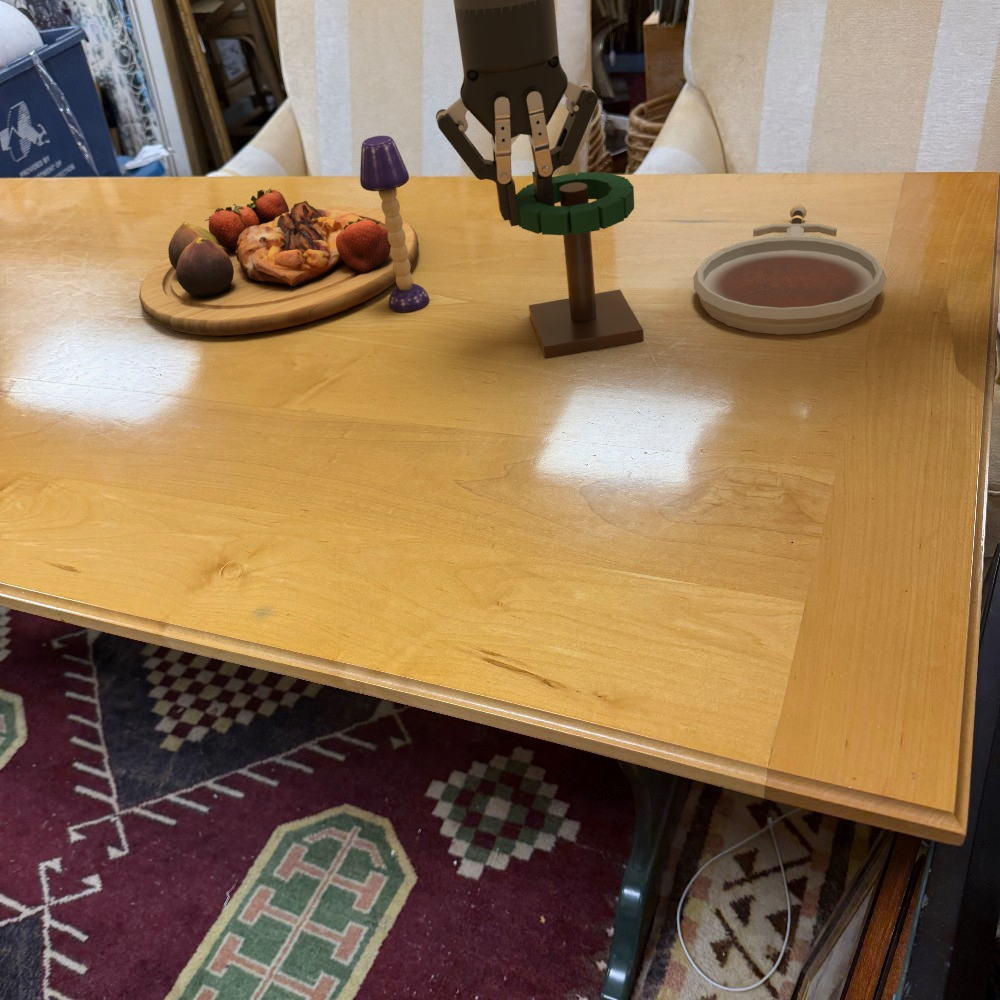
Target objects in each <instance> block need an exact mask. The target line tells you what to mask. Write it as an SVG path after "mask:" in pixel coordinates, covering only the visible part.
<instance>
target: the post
mask: <svg viewBox="0 0 1000 1000" xmlns="http://www.w3.org/2000/svg"><path fill="white" fill-rule="evenodd" d="M559 192H560V202H559V203H560V206H574V205H580V204H585V203H590V201H589V200H590V199H588V186H587V185H586V184H585V183H569V184H565V185H563V186H561V187H560V189H559ZM562 238H563V246H564V247H563V248H564V249H563V250H564V259H565V269H566V280H567V281H566V283H567V293H568V298H563V299H557V300H551V301H546V302H545V301H544V302H539V303H533V304H529V305H528V311H529V312H528V313H529V317H530V320H531V323H532V326H533V329H534V331H535V334H536V337H537V340H538V342H539V343H538V344H539V345H540V348H541V350H542V354H543V356H544V358H545V359H548V358H553V357H560V356H565V355H571V354H577V353H583V352H589V351H593V350H601V349H605V348H611V347H617V346H623V345H627V344H628V345H629V344H635V343H639V342H644V340H645V339H644V338H645V337H644V328H643V326H642V325H641V323H640V321H639V319H638V318H637V316H636V315H635V313H634V311H633V310H632V308H631V306H630V304H629V302H628V301H627V300H626V297H625V296H624V294H623V292H622V290H621V289H613V290H608V291H603V292H596V287H595V274H594V258H593V245H592V232H586V233H581V234H575V235H572V233H571V232H570V233H569V234H568V235H562Z"/></svg>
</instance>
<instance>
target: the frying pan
mask: <svg viewBox="0 0 1000 1000" xmlns="http://www.w3.org/2000/svg"><path fill="white" fill-rule="evenodd" d="M789 216H790V218H791V219H790V222H791V223H773V224H767V225H763V226H759V227H754V228H753V231H752V238H754V239H750V240H744V241H740V242H737V243H734V244H731V245H728V246H725V247H723V248H720V249H718V250H717V251H715V252H714V253H712V254H711V255H709V256H707V257H706V258H705V259H703V261H702V263H701V264H700V265H699V267H697V269H696V271H695V273H694V275H693V277H692V279H693V282H692V283H693V290H694V291H695V292H696V293H697V294H698V296H699V300H700V303H701V304H700V305H701V306H702V308H703V309H704V310H705V312H707V314H708V315H709V317H711V318H713V319H714V320H717V321H719V322H720V323H721V324H724V325H726V326H728V327H731V328H735V329H739V330H742V331H747V332H750V333H758V334H759V333H760V334H768V335H769V334H770V335H778V336H779V335H780V336H782V335H785V336H786V335H806V334H813V333H818V332H823V331H828V330H834V329H837V328H840V327H843V326H845V325H847V324H850V323H852V322H854V321H857V320H858V319H860V318H861V317H862V316H863V315H865V314H866V313H867V312H868V311H870V310H871V308H872V306H873V304H874V301H875V300H876V297H878V296H879V294H881V293H882V292H883V289H884V288H885V284H886V281H887V276H886V273H885V270H884V268H883V267H882V265H881V262H880V260H879V258H878V257H877V256H875V255H873V254H872V253H871V252H870V251H869V250H867V249H866V248H863V247H861V246H858V245H856V244H853V243H850V242H848V241H844V240H840V239H839V240H838V239H833V238H828V237H822V236H811V235H810V236H809V235H804V233H820V234H824V235H828V236H832V237H834V238H836V237H837V231H838V228H837V227H835V226H829V225H825V224H822V223H803V221H804V219H805V217H806V216H807V208H806V206H804V205H803V204H796V205H793V206H792V207H791V208H790V211H789ZM773 233H777V234H779V233H780V234H782V233H786V234H785V235H779V236H764V235H768V234H773ZM759 236H764V237H760V238H755V237H759Z"/></svg>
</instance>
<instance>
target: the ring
mask: <svg viewBox="0 0 1000 1000" xmlns="http://www.w3.org/2000/svg"><path fill="white" fill-rule="evenodd" d="M552 182H553V193H554V204H557V203H560V192H559V189H560V187H561V186H563V185H565V184H569V183H585V184H586V185H587V186H588V200H592V201H590V202H589V203H585V204H580V205H574V206H561V205H555V206H549V205H545V204H542V203H539V202H537V200H536V198H535V193H534V184H533V183H530V184H527V185H526V186H525V187H524V186H523V187H522V188H521V189H520V190H519V191H518V192H516V199H517V212H518V220H519V225H518V227H519V228H521V229H522V230H525V231H528V232H532V233H534V234H536V235H537V234H538V235H540V234H541V235H543V236H544V235H545V236H563V235H568V234H569V233H570V232H571V233H572V235H575V234H581V233H586V232H591V233H592V232H598V231H600V230H601V229H603V230H606V229H608V228H610V227H612V226H614V225H617V224H619V223H621V222H624V221H625V219H628V218H629V216H630V215H631V213H632V212H633V211H634V210H635V189H634V185H633V184H632V183H631V182H630V180H629V178H626V177H625V176H621V175H617V174H614V173H610V172H606V173H604V172H597V171H595V172H594V171H593V172H591V171H589V172H587V171H585V172H584V171H583V172H578V173H577V174H576V173H575V172H573V173H566V174H560V175H555V176H552ZM593 200H594V201H593Z"/></svg>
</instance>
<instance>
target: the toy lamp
mask: <svg viewBox="0 0 1000 1000" xmlns="http://www.w3.org/2000/svg"><path fill="white" fill-rule="evenodd" d="M360 149H361V150H360V168H359V169H360V170H359V172H360V173H359V182H360V186H361V188H362V189H364V190H365V191H369V192H378V196H379V198H380V200H381V211H383V213H384V214H385V225H386V228H387V230H388V241H389V243H390V245H391V248H390V253H391V257H392V259H393V260H394V262H393V268H394V271H395V273H396V282H395V284H396V286H397V287H395V288H394V289H393V290H392V291H391V293H389V298H388V308H389V309H390V310H391V311H393V312H397V313H411V312H416V311H419V310H421V309H423V308H425V307H426V306H428V304H429V303H430V297H429V294H428V292H427V291H426V289H425V288H423V286H422V285H419V284H417V283H414V278H413V275H412V274H411V267H410V262H409V260H408V258H407V257H408V249H407V246H406V244H405V240H406V237H405V232H404V230H403V229H402V226H403V221H402V219H403V218H402V215H401V214H400V212H401V211H400V210H401V205H400V201H399V200H398V198H397V196H398V190H397V189H398V188H400V187H402V186H404V185H406V184H407V183H408V182H409V181H410V175H409V171H408V169H407V167H406V164H405V162H404V160H403V158H402V155H401V153H400V151H399V148H398V146H397V144H396V142H395V140H394V139H393V138H392V137H391V136H389V135H375V136H372V137H368V138H366V139H365V140H363V142H362V143H361V148H360Z"/></svg>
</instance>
